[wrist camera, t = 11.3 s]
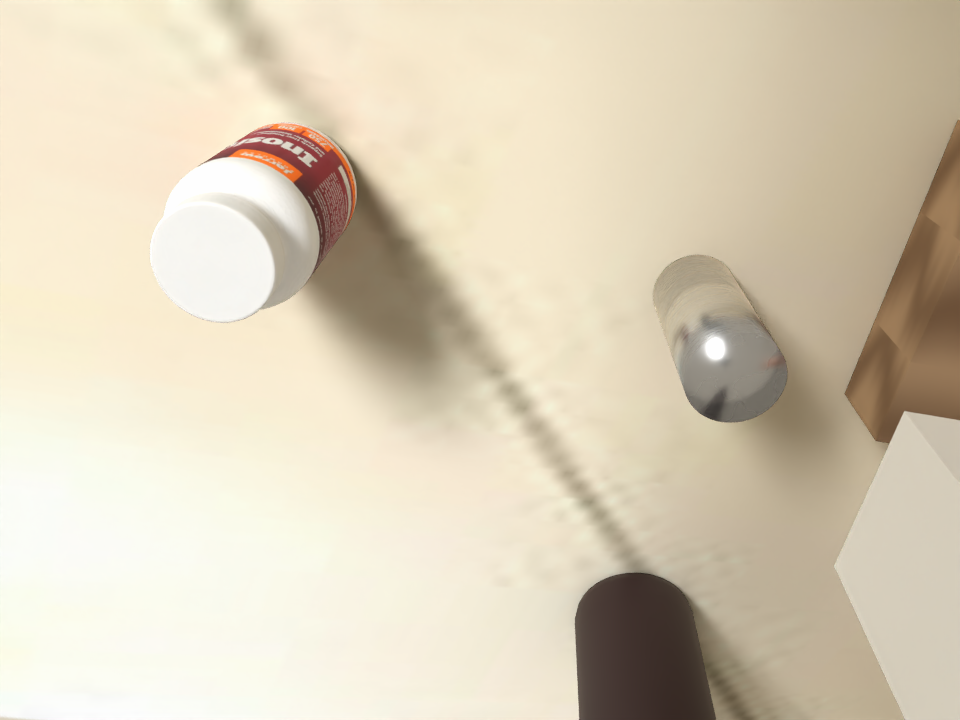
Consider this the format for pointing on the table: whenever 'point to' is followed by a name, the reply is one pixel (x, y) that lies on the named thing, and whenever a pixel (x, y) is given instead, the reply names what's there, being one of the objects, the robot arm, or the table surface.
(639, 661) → the wine bottle
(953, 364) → the hole block
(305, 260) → the pill bottle
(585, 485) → the table surface
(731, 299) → the medium pin
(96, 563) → the table surface
